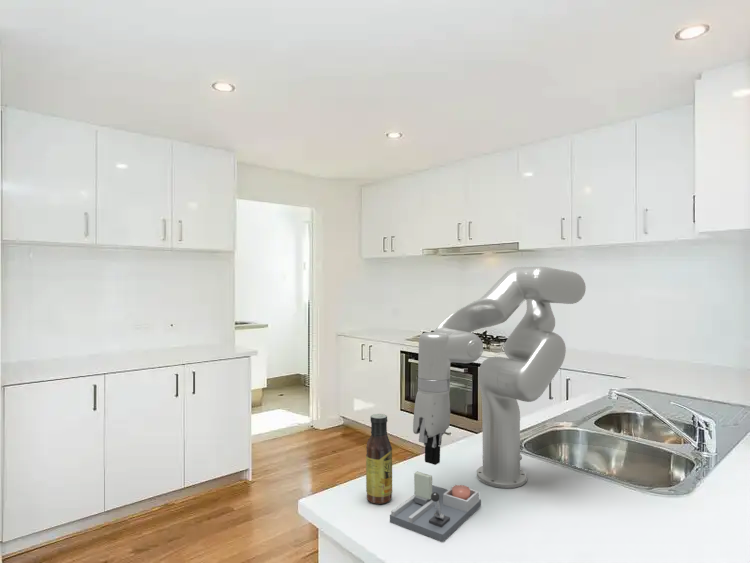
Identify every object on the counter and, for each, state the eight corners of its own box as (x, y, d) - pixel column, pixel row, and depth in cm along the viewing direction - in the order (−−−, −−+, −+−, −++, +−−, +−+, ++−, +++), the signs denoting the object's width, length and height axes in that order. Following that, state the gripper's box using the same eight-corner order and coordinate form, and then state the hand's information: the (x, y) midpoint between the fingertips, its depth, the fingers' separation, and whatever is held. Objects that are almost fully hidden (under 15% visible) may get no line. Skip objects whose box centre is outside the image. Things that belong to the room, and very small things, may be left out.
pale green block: (419, 496, 110) (419, 470, 110) (434, 501, 107) (434, 474, 107) (412, 501, 107) (412, 474, 107) (427, 506, 105) (427, 478, 105)
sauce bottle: (390, 506, 109) (389, 421, 108) (363, 504, 110) (362, 419, 110) (394, 493, 115) (393, 412, 115) (369, 491, 116) (368, 411, 116)
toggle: (437, 513, 101) (432, 489, 99) (445, 516, 99) (440, 491, 97) (433, 519, 99) (428, 495, 97) (442, 522, 98) (436, 497, 96)
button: (457, 496, 110) (457, 483, 110) (473, 501, 107) (473, 488, 107) (449, 503, 107) (449, 489, 107) (465, 508, 104) (465, 494, 104)
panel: (431, 490, 116) (431, 475, 116) (480, 506, 108) (480, 489, 108) (389, 521, 102) (389, 504, 102) (442, 542, 94) (442, 523, 94)
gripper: (435, 377, 119) (434, 450, 119) (403, 387, 107) (401, 468, 107) (462, 382, 115) (461, 457, 115) (431, 393, 103) (429, 476, 103)
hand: (432, 462), depth 111 cm, fingers closed
